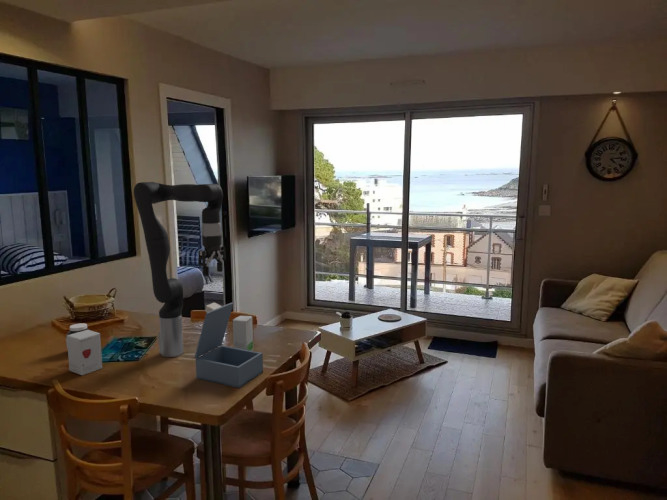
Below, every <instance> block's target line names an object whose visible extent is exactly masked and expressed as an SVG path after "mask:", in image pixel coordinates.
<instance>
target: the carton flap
mask: <svg viewBox="0 0 667 500" xmlns="http://www.w3.org/2000/svg"><path fill="white" fill-rule="evenodd" d="M233 306H234V302H230V303H227V304H224V305H220V304H219V303H216V302H211V303H209V304H207V305H206V306H205V309H204V312H205V316H204V320H203V323H202V328H201V332H200V336H199V339H198V342H197V347H196V351H195V354H194V359H195V360H196V358H198V357H200V356H202V355H204V354H206V353H208V352H210V351H212V350H214V349H216V348H218V347H220V346H221V345H222V346H223V342H224V339H225V335H226V331H227V329H228V328H227V327H228V325H229V320H230V317H231V313H232V310H233Z"/></svg>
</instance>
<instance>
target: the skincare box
mask: <svg viewBox="0 0 667 500" xmlns="http://www.w3.org/2000/svg"><path fill="white" fill-rule="evenodd" d="M253 327H254V326H253V316H251V315H239V316H237V317H235V318H233V319H232V333H233V334H232V335H233V336H232V337H233V339H232V340H233V348H238V349H244V350H249V351H253V350H254V334H253V333H254V332H253V331H254V329H253Z"/></svg>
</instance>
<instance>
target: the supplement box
mask: <svg viewBox="0 0 667 500" xmlns="http://www.w3.org/2000/svg"><path fill="white" fill-rule="evenodd" d="M66 335H67V334H66ZM67 345H68V349H67V355H68V368H69V369H68V370H69V371H70V372H72V373H75V374H78V375H80V376H84V375H88V374H89V373H93V372H95V371H98V370H101V369H103V357H102V343H101V333H100V332H98V331H94V330H90V329H89V330H85V331H81V332H77V333H74V334H70V335H67ZM67 345H66V346H67Z"/></svg>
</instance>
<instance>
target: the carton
mask: <svg viewBox="0 0 667 500" xmlns="http://www.w3.org/2000/svg"><path fill="white" fill-rule="evenodd" d="M263 355H264V353H263V352H259V351H253V350H252V351H249V350H244V349H238V348H234V346H233V347H232V346H229V345H228V346H226V345H223V344H222V345H221V346H219V347H217V348H215V349H213V350H211V351H209V352H207V353H206V354H204V355H202V356H200V357H198V358H196V359H195V376H196V378H195V379H197V380H201V381H205V382H209V383H210V382H211V383H214V384H219V385H224V386H226V387H233V388H237V389H241V388H242V387H243V386H245V385H246V384H247V383H249V382H251V381H252V380H253V379H255V378H257V377H258V376H259V375H261V374H262V373H264V363H263V362H264V357H263Z"/></svg>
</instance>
